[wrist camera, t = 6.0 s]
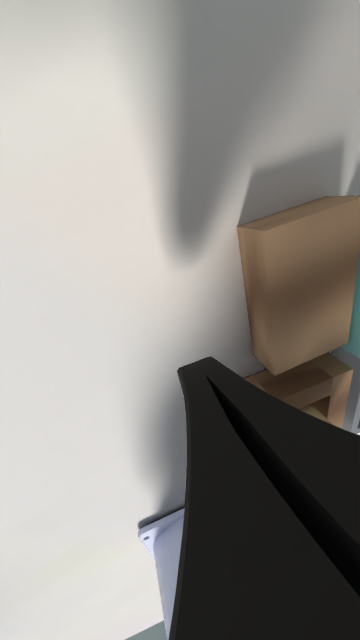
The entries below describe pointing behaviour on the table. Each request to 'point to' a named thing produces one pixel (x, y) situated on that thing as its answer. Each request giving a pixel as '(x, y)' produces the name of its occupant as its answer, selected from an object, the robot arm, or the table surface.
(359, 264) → the teal rectangular block
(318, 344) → the tan wooden slab
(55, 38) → the table surface
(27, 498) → the table surface
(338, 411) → the socket
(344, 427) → the tray
